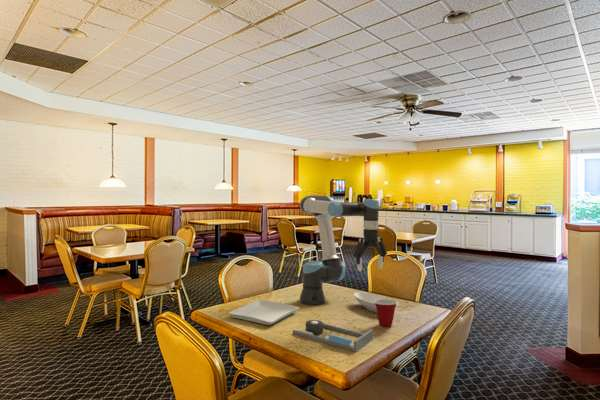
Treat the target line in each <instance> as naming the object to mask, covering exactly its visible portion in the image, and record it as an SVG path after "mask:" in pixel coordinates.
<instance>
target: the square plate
mask: <svg viewBox="0 0 600 400" xmlns="http://www.w3.org/2000/svg"><path fill="white" fill-rule="evenodd" d="M298 309H300V307H299V306H296V305H292V304H287V303H282V302H277V301H270V300H265V299H257V300H255V301H252V302H249V303H247V304H244V305H242V306H240V307H237V308H235V309H233V310H231V311H228V312H227V314H228V315H229V316H230V317H231V318H235V319H241V320H243V321H248V322H253V323H256V324H257V323H258V324H260V325H261V324H262V325H266V326H271V325H273V324H275V323H277V322H279V321H280V320H282V319H284V318H286V317H288V316H290V315H292V314H293V313H295V312H296V311H297V310H298Z"/></svg>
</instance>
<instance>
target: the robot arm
mask: <svg viewBox="0 0 600 400" xmlns="http://www.w3.org/2000/svg"><path fill="white" fill-rule="evenodd" d="M299 209H300V211H301V212H303V213H304V214H307V215H314V218H315V219H316V220H317V225H318V232H319V233H318V234H319V237H320V245H321V253H322V259H321V260H310V261H307V262H305V263H303V267H302V289H301V292H300V295H299V302H300V303H301V304H304V305H307V306H316V305H317V306H319V305H323V304H325V303H326V296H325V294H324V289H323V284H325V283H333V282H339V281H341V280H343V279H344V277H345V276H346V265H345V264H344V262H343V261H341V258H340V257H339V256H338V254H337V249H336V248H337V247H336V242H335V235H334V229H333V223H332V217H335V218H339V217H363V232H362V233H363V238H358V241H357V242H358V243H357V245H356V247H355V249H354V252H353V253H352V257H354V258H356V263H355V264H356V265H357V267H356V269H357V271H358V272H362V269H363V267H362V266H363V264H362V263H363V262H362V261H363V257H362V256H363V255H364V253H365V251H366V250H367V249H368V248H371V247H372V248H374V249H375V250H376V253H378V257H377V259H378V260H377V261H378V263H377V265H378V266H377V268H378V269H380V270H383V269H384V268H383V267H384V266H383V265H384V264H383V263H384V260H385V258H384V257H386V256H387V254H388V252H387V249H386V247H385V244H384V242H383V241H384V240H383V239H384V238H383V237H379V229H378V228H379V215H380V214H379V213H380V212H379V209H380V206H379V200H378V199H376V198H374V199H373V198H365V199H363V202H359V201H353V202H350V201H349V202H348V201H347V202H343V201H335V200H334V198H332V196H329V195H306V196H304V197H303V198H301V200H300V201H299Z"/></svg>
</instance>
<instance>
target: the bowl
mask: <svg viewBox="0 0 600 400" xmlns="http://www.w3.org/2000/svg"><path fill="white" fill-rule="evenodd" d="M353 295H354V296H353V297H354V298H355V299H356V300H357V302H358V303H359V304H360V305H361V306H362V307H364V308H365V309H366V310H368V311H371V312H374V313H376V314H377V308H376V305H375V303H374V301H375V300H379V299H389V300H393V299H391V298H389V297H387V296H383V295H380V294H374V293H372V292H371V293H370V292H360V291H359V292H355V293H354V294H353ZM398 306H399V303H398V302H397V303H396V307H395V309H397V307H398Z"/></svg>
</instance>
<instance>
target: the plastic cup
mask: <svg viewBox="0 0 600 400" xmlns="http://www.w3.org/2000/svg"><path fill="white" fill-rule="evenodd" d="M389 299H390V298H389ZM389 299H379V300H375V301H374V303H375V305H376V308H377V313H376V314H377V320H378V324H379V327H381V328H386V329H387V328H388V329H389V328H392V326H393V322H394V321H393V320H394V315H395V311H396V308H397V307H396V303H398V302H397V300H393V299H392V300H389ZM395 307H396V308H395Z"/></svg>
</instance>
